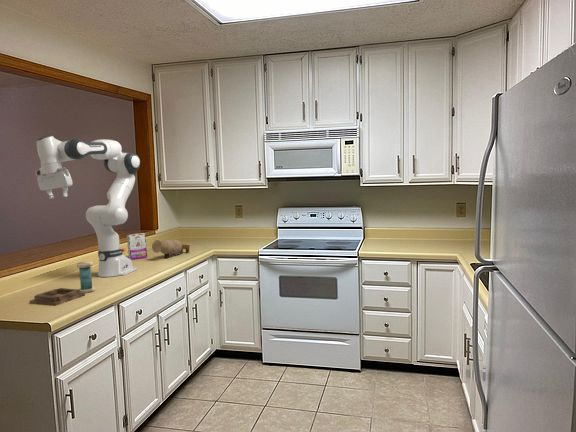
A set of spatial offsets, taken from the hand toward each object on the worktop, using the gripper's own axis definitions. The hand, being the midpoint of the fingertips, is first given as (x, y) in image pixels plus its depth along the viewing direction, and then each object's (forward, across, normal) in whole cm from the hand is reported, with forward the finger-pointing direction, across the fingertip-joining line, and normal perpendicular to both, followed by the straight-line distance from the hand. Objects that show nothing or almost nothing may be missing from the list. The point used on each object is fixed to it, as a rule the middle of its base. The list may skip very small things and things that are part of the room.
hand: (58, 197), depth 221 cm
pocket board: (+45, -9, +19) cm, 50 cm away
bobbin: (+46, -11, +5) cm, 48 cm away
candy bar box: (+50, +27, -68) cm, 89 cm away
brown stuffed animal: (+53, +8, -80) cm, 96 cm away
